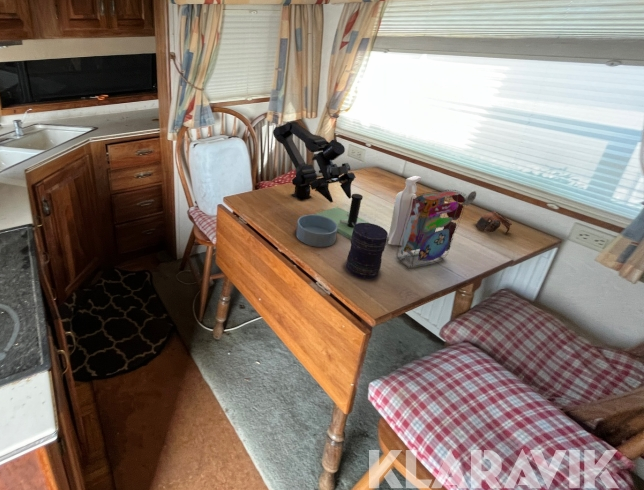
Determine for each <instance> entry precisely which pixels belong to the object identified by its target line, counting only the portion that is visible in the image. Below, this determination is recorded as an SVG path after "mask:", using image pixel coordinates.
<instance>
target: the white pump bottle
mask: <svg viewBox="0 0 644 490" xmlns="http://www.w3.org/2000/svg"><path fill="white" fill-rule="evenodd" d="M421 179H422V177H421V176H418V175H413V176H410V177H408V178H406V179H405V182H404V185H405V187H404V189H403V190H401V191H399V192H398V193H397V194H395V199H394V200H395V201H394V206H393V211H392V216H391V220H390V225H389V226H390V227H389V232H388V236H387V240H388V241H387V243H388V244H389V245H391V246H399V247H400V246H401V247H402V241H403V236H404V234H405V231H406V226H407V222H408V220H409V217H410V214H411V210H412V203H413V198H414V199H415V198H416V197H417V194H416V193H417V191H418V186H417V184H416V183H418V182H420V181H421ZM415 195H416V196H415ZM412 196H413V197H412ZM411 197H412V201H411ZM410 201H411V203H410ZM410 205H411V206H410ZM409 206H410V207H409ZM408 209H410V210H408ZM407 212H408V213H409V214H408V213H407ZM406 215H407V216H408V217H407V216H406ZM405 219H407V220H405ZM405 222H406V223H405ZM404 223H405V226H404ZM403 229H404V231H403ZM402 232H403V233H402ZM402 234H403V235H402ZM401 235H402V237H401ZM400 239H401V240H400ZM399 242H400V244H399Z"/></svg>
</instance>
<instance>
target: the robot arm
mask: <svg viewBox="0 0 644 490" xmlns="http://www.w3.org/2000/svg"><path fill="white" fill-rule="evenodd" d="M272 136H273V137H274V139H275V140H276V141H277V142H278V143H280V144H282V146H283V147H284V149H285V152H286V153H287V155H288V157H289V158H290V161H291V162H292V165H293V166H294V168H295V173H294V174H295V175H294V176H295V177H293V178H292V179H291V183H292V185H293V186H294V193H292V194H291V196H292V197H294V198H296V199H298V200H299V201H304V200H308V199H311V198H312V196H311V190H313V191H314V192H317V193H319V194H320V195H321V196H323V197H324V198H325V199H326V200H327V201H328V202H329V203H333V202H334V199H333V197H332V194H331V192H330V189H329V184H334V183H339V184H340V185H339V186H340V188H341V189H342V191H343V193H344V194H345V196H346V197H347V198H348V199H352V183H353V182H354V180H355V179H356V178H357V177H356V175H355V173H354V172H352V171H351V165H350V163H349V162H344V163H342V164H341V165H340V166H338V165H337V164H336V163H334V161H335V160H336V159H338V158H339V157H341V156H342V155H344V154H345V151H346V148H345V145H343V144H342V143H341V142H339V141H337V139H336V138H334V139H331V140H330V141H327V139H326V138H325V137H324V136H321V135H318V134H314V133H312V132H310V131H309V130H308V129H306V128H305V127H304V126H302V125H301V124H299V122H298V121H295V120H293V121H288V122H286V123H284V124H282V125H279V126H274V129H273V130H272ZM294 136H295V137H296V138H298V139H299V140H300V141H302V142H303V143H304V147H305V148H306V149H307V150H308V151H309V153H313V156H312V158H311V161H315V162H316V163H317V167H318V168H319V170H318V173H319V174H321V175H322V177H318V174H317V170H316V169H315V167H314V166H313V164H307V163H306V161H305V160H304V157H303V156H302V154H301V152H300V150H299V149H298V147H297V145H296V143H295V142H294V139H293V137H294Z"/></svg>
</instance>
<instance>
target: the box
mask: <svg viewBox="0 0 644 490" xmlns="http://www.w3.org/2000/svg"><path fill="white" fill-rule="evenodd" d="M415 196H416V198H415V199H414V198H413V203H412V210H411V214H410V217H409V220H408V222H407V226H406V231H405V234H404V236H403V241H402V246H401V248H400V246H399V245H397V250H396V253H395V254H396V255H395V256H396V258H397V259H398V260H399V263H401V264H402V265H403V266H405V267H406V268H407V269H409V268H412V267H414V265H413V263H414V260H415V257H416V256H417V254H416V253H417V252H418V258H417V261H418V262H425V263H426V262H428V264H427V265H426V264H425V267H428V266H430V265H432V261H433V265H436V264H437V263H439V260H444V258H446V257H447V255H448V254H445V253H446V252H447V253H449V251H450V249H451V247H452V243H453V240H454V238H453V237H454V235H455V233H456V232H457V230H458V228H459V226H460V222H461V219H462V218H463V213H464V212H463V211H464V210H465V207H464V206H469V205H471V203H473V202H474V201H475V199H476V197H477V191H475V190H474V191H471V192H470V193H469V194H468V195H467V194H466V193H464V192H462V191H460V192H459V191H457V190H456V189H452V190H450V189H445V190H444V191H441V192H440V190H437V191H434V192H433V191H429V192H427V193H426V192H424V193H423V192H422V194H421V193H420V194H418V195H417V194H416V195H415ZM465 196H466V198H465ZM412 197H413V196H412ZM412 197H411V201H412ZM451 198H452V199H451ZM450 200H453V202H450ZM411 201H410V203H411ZM447 201H448V202H447ZM446 202H447V203H446ZM410 206H411V205H410ZM410 206H409V207H410ZM408 210H410V209H408ZM407 213H408V212H407ZM408 214H409V213H408ZM442 214H444V215H443V217H441V216H442ZM445 215H446V216H447V217H445ZM406 216H407V215H406ZM407 217H408V216H407ZM405 220H407V219H405ZM454 221H457V223H456V222H454ZM405 223H406V222H405ZM405 223H404V226H405ZM440 228H441V229H440ZM437 229H440V230H437ZM403 231H404V229H403ZM402 233H403V232H402ZM402 235H403V234H402ZM402 235H401V237H402ZM400 240H401V239H400ZM399 244H400V242H399ZM399 251H400V254H401V255H402V256H400V257H398V255H399V253H398V252H399ZM412 251H414V252H412ZM405 252H406V253H407V255H404V253H405ZM442 256H444V257H442ZM403 257H404V258H403ZM410 257H412V260H411V258H410ZM400 258H402V259H400ZM438 258H440V259H438ZM436 259H437V260H436ZM403 260H405V261H406V263H407V264H411V265H410V266H409V267H408V266H407V265H405V263H404V262H403ZM434 260H435V261H434ZM430 261H431V262H430ZM430 263H431V264H430ZM417 266H418V264H417V265H415V267H416V269H417V268H420V267H423V266H424V263H422V264H421V265H419V266H418V267H417Z"/></svg>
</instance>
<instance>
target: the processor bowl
mask: <svg viewBox="0 0 644 490" xmlns="http://www.w3.org/2000/svg"><path fill="white" fill-rule="evenodd" d="M296 221H297V222H296V230H295V236H296V239H298V240H299V241H300V242H302V243H304V244H305V245H307V246H310V247H315V248H326V247H331V246H332V245H334V244H335V243H336V240H337V234H338V232H337V229H338V226H337V224H336V223H335V222H334V221H333V220H331V219H330V218H327V217H324V216H320V215H314V214H305V215H301V216H299V218H298V219H297V220H296Z"/></svg>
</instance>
